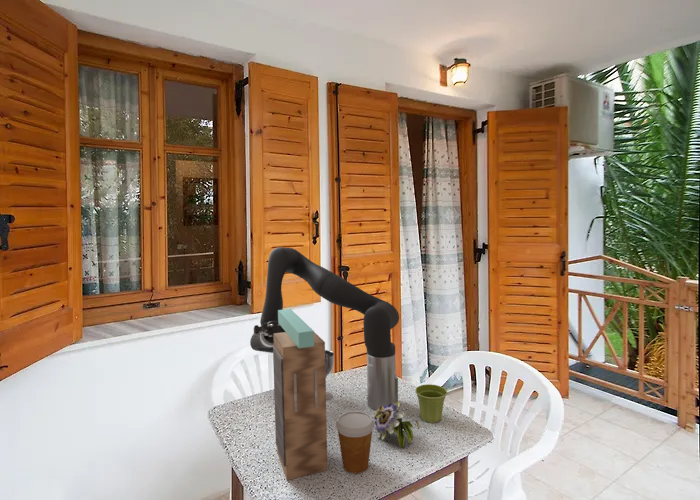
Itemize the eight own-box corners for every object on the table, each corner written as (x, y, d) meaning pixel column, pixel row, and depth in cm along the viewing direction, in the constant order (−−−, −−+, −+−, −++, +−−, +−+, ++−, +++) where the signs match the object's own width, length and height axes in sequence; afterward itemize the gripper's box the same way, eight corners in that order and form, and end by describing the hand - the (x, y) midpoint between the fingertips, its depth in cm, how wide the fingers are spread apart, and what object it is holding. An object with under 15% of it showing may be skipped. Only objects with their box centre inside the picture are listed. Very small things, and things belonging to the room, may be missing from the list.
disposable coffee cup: (335, 455, 104) (334, 411, 103) (371, 453, 105) (371, 409, 104) (337, 479, 95) (336, 430, 94) (377, 476, 95) (377, 428, 94)
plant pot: (447, 427, 117) (447, 398, 116) (414, 424, 119) (414, 396, 118) (446, 412, 126) (446, 385, 125) (416, 409, 128) (415, 383, 127)
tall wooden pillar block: (313, 444, 109) (311, 329, 107) (327, 471, 98) (325, 342, 95) (275, 452, 106) (271, 333, 103) (285, 481, 94) (281, 348, 91)
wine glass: (339, 394, 140) (338, 352, 138) (325, 403, 133) (324, 359, 132) (320, 389, 144) (319, 348, 143) (306, 398, 137) (305, 355, 136)
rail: (290, 321, 115) (290, 308, 114) (314, 346, 92) (313, 330, 92) (278, 322, 114) (277, 310, 113) (298, 348, 91) (298, 332, 91)
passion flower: (381, 456, 112) (363, 414, 117) (413, 440, 117) (395, 400, 121) (394, 454, 103) (375, 407, 108) (429, 436, 107) (409, 392, 112)
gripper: (249, 324, 133) (256, 314, 119) (292, 321, 138) (303, 311, 124) (251, 347, 131) (257, 339, 117) (294, 343, 136) (305, 335, 122)
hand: (280, 324), depth 120 cm, fingers open, 8 cm apart
